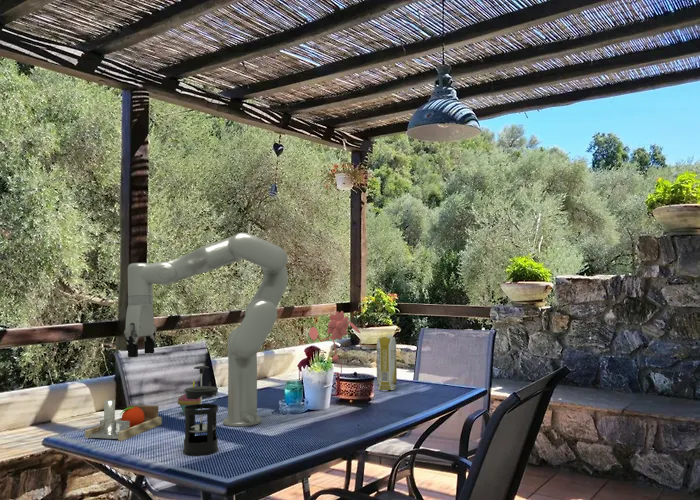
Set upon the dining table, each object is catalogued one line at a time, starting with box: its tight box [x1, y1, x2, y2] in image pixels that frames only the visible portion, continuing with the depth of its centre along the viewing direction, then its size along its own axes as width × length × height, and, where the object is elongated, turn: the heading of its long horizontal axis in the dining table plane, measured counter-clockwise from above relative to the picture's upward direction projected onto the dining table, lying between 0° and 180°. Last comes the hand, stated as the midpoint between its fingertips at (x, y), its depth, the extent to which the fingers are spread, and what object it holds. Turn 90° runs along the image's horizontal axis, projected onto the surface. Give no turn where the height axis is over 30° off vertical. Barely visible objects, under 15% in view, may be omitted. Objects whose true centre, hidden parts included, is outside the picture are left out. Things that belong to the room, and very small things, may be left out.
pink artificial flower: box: [308, 310, 361, 374], centre depth 252 cm, size 15×26×35 cm, turn 133°
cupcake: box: [177, 378, 201, 415], centre depth 214 cm, size 9×8×12 cm
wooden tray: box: [84, 404, 163, 442], centre depth 187 cm, size 22×12×6 cm, turn 167°
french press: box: [182, 365, 219, 457], centre depth 164 cm, size 12×9×23 cm
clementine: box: [119, 406, 144, 427], centre depth 190 cm, size 8×7×7 cm
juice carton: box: [376, 334, 398, 391], centre depth 261 cm, size 9×8×24 cm
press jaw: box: [90, 399, 130, 440], centre depth 180 cm, size 6×9×11 cm, turn 77°
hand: (141, 355), depth 190 cm, fingers open, 9 cm apart
